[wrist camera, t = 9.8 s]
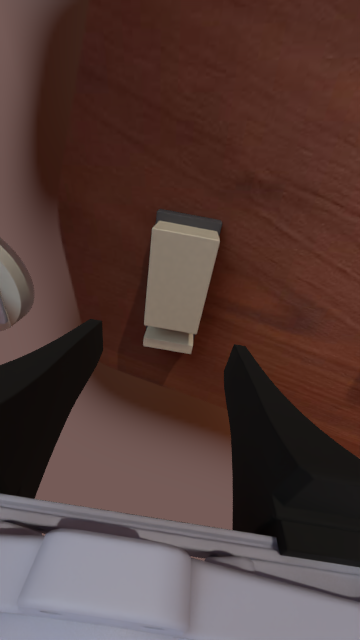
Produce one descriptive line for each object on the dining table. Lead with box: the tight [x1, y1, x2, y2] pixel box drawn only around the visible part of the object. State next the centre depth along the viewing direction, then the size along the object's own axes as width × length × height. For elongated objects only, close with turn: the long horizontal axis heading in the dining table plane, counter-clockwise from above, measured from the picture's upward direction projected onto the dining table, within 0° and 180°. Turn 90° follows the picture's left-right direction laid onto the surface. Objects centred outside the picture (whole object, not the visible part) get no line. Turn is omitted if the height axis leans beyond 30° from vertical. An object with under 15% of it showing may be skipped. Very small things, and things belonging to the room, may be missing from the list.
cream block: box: [143, 209, 222, 354], centre depth 19 cm, size 11×5×4 cm, turn 171°
